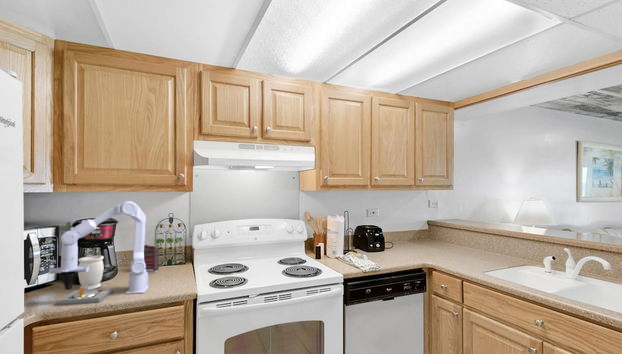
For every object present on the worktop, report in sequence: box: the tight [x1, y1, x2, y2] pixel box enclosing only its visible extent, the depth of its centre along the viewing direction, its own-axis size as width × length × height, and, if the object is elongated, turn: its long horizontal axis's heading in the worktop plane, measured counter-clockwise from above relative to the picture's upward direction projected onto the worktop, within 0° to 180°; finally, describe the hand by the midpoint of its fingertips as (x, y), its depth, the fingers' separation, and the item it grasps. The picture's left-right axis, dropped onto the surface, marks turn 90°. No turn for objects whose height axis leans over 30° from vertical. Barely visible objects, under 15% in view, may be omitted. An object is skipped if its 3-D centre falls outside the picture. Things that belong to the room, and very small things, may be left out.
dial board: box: [56, 287, 113, 307], centre depth 136 cm, size 13×16×2 cm
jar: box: [77, 255, 105, 289], centre depth 151 cm, size 11×10×15 cm
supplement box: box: [144, 244, 160, 274], centre depth 178 cm, size 9×5×16 cm, turn 86°
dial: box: [74, 285, 99, 298], centre depth 136 cm, size 9×9×5 cm
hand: (68, 289), depth 132 cm, fingers closed
